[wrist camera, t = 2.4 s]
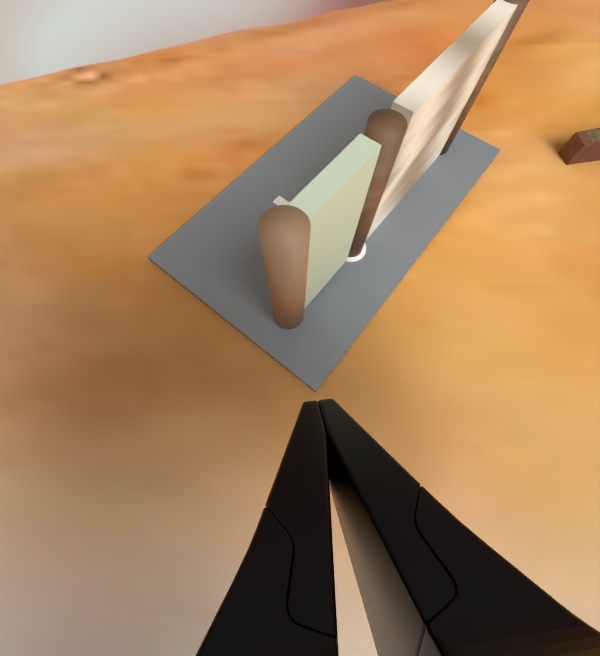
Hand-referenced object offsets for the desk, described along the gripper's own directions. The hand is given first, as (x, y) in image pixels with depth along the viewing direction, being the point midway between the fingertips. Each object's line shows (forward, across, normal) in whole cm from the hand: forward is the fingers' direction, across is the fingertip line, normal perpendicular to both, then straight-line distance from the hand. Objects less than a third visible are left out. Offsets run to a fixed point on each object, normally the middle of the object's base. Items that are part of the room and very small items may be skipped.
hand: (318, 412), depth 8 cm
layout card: (+17, -4, -5) cm, 18 cm away
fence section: (+16, -8, -5) cm, 19 cm away
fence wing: (+11, -1, 0) cm, 11 cm away
